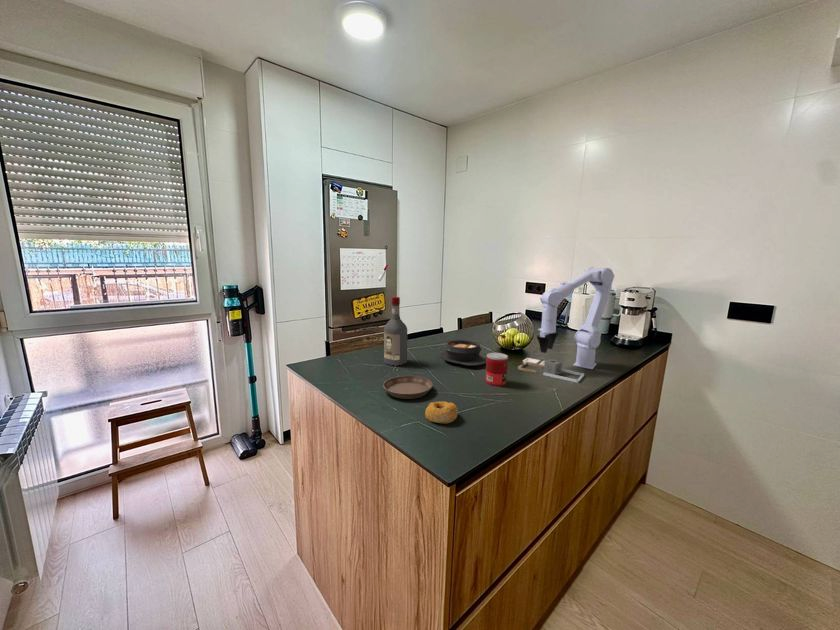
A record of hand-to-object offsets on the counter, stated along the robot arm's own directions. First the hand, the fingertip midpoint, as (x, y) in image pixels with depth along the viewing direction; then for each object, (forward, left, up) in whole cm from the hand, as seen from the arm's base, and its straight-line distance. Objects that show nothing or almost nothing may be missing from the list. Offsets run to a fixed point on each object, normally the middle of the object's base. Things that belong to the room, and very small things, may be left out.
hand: (546, 350), depth 143 cm
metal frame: (+3, +9, -8) cm, 12 cm away
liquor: (+36, -56, -9) cm, 67 cm away
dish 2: (-6, -1, -8) cm, 10 cm away
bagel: (+65, -10, -9) cm, 66 cm away
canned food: (+29, -10, -9) cm, 32 cm away
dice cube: (+3, +4, -9) cm, 10 cm away
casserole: (+14, -34, -9) cm, 37 cm away
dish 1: (-6, -8, -8) cm, 13 cm away
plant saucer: (+57, -31, -9) cm, 65 cm away
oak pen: (+3, -5, -8) cm, 10 cm away
